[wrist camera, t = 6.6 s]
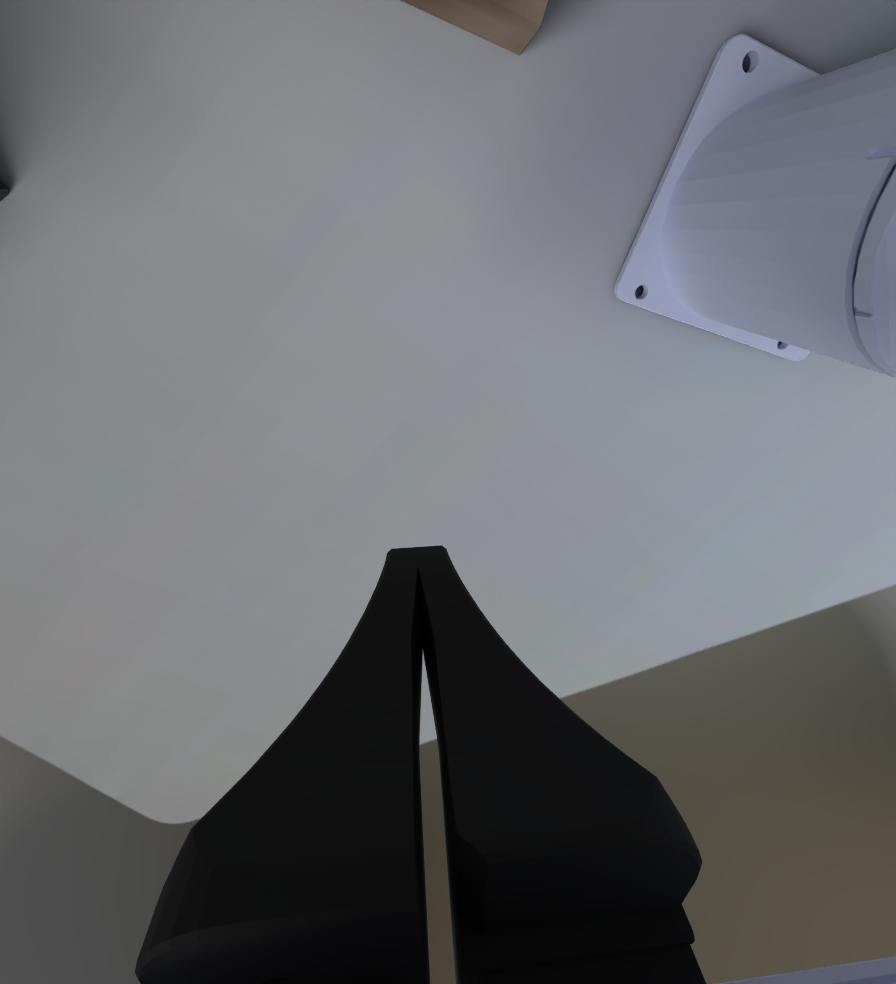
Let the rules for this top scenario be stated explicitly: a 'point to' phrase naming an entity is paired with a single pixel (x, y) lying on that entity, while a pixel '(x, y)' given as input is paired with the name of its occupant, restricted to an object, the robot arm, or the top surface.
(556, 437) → the top surface
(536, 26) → the button board
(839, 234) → the robot arm
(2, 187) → the phone stand
